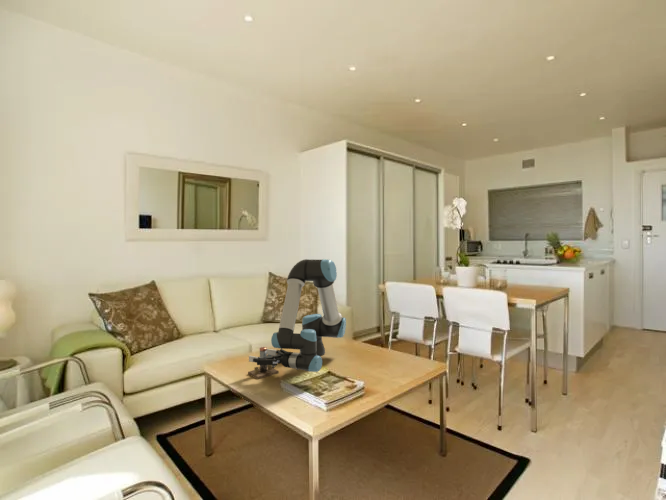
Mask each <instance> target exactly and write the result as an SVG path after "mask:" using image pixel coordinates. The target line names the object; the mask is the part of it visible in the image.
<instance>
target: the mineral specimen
mask: <svg viewBox="0 0 666 500" xmlns="http://www.w3.org/2000/svg"><path fill="white" fill-rule="evenodd" d="M272 356H275V355H269V354H267V358H268V357H272ZM276 356H277V355H276ZM274 359H275V358H274ZM267 366H268V365H267ZM276 366H277V365H272V368H273V369H274V368H276Z"/></svg>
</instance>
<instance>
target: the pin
mask: <svg viewBox="0 0 666 500" xmlns="http://www.w3.org/2000/svg"><path fill="white" fill-rule="evenodd" d="M267 349H268V347H266V346H263V347H262V346H261V347H259V357H260V358H267ZM259 369H260V372H267V365H259Z"/></svg>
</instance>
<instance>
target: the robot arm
mask: <svg viewBox="0 0 666 500" xmlns="http://www.w3.org/2000/svg"><path fill="white" fill-rule="evenodd" d="M336 266H337V265H336V264H335V262H334V261H333V260H332V259H325V258H323V259H307V258H306V259H302V260H300V261H298V262H297V263H296V264H294V265H293V266H292V268H291V269H290V271H289V273H288V275H287V278H286V283H287V287H286V292H285V298H284V303H283V307H282V312H281V317H280V321H279V327H278V331H276V332H274V333H273V334H272V335H271V340H270V341H271V345H272V347H273V348H274V349H271V348H270V349H269V348H267V354H269V355H275V356H272V357H268V358H260V356H254V355H249V356H248V362H250V363H256V365H257V366H260V365H276V366H277V365H279V364H281V365H282V366H283V367H284V368H288V369H296V370H297V371H298V370H302V371H305V372H306V371H307V372H311V373H315V372H316V373H317V372H319V371H320V370H322V366H323V358H322V357H321V356H323V355H325V354H326V348H325V345H324V343H323V338H337V339H340V338H344V336H345V334H346V328H347V318H346V317H344V316H342V314H341V312H339V309H338V305H337V304H338V303H337V300H336V299H337V298H336V295H335V291H334V283H335V281H336V280H337V277H338V276H337V275H338V274H337V273H338V272H337V267H336ZM306 282H312V283H313V286H314V287H315V288H316V289H317V292H318V296H319V300H320V301H319V302H320V305H321V310H322V314H323V315H322V314H321V313H313V314H307V315H305V316H303V317H302V319H301V322H302V323H301V327H302V328H301V331H300V333H297V332H295V331H294V330H295V327H296V320H297V316H298V310H299V305H300V300H301V296H302V289H303V287H304V286H305V285H306ZM322 337H323V338H322ZM286 349H287V350H299V352H295V351H287V350H286ZM276 355H277V356H276ZM274 358H275V359H274Z"/></svg>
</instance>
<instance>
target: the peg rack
mask: <svg viewBox="0 0 666 500" xmlns="http://www.w3.org/2000/svg"><path fill="white" fill-rule="evenodd" d="M253 369H254V370H253ZM253 369H252V370H249V371H247V375H249V374H250V375H249V376H251V375H252V376H251V377H253V376H254V377H253V378H256V379H257V380H261V379H264V378H267V377H269V376H274V375H276V374H279V372H280V371H279V370H278V369H276V368H274V367H273V368H272V365H268V366H267V372H260V368H259V366H255V367H254V368H253Z"/></svg>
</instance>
